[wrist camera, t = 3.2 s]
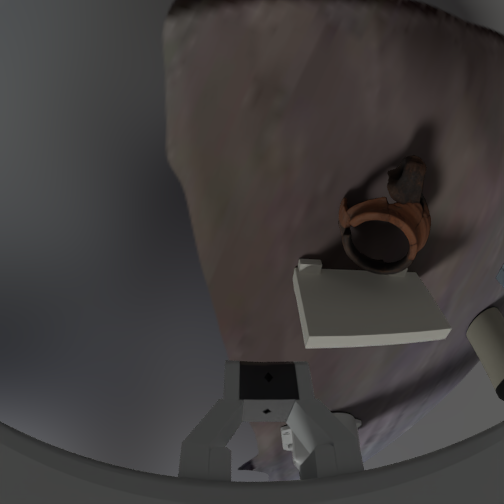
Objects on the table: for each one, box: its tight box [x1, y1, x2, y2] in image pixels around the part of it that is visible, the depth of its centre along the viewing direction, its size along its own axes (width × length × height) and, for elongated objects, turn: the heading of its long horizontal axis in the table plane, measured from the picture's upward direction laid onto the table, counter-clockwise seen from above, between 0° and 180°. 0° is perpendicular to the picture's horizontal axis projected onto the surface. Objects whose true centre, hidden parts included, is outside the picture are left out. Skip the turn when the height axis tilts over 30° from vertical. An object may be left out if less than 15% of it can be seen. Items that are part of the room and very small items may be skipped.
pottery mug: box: [338, 155, 431, 275], centre depth 26 cm, size 12×10×8 cm
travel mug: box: [466, 307, 504, 401], centre depth 32 cm, size 8×8×18 cm
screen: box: [293, 259, 452, 348], centre depth 29 cm, size 4×16×10 cm, turn 86°
